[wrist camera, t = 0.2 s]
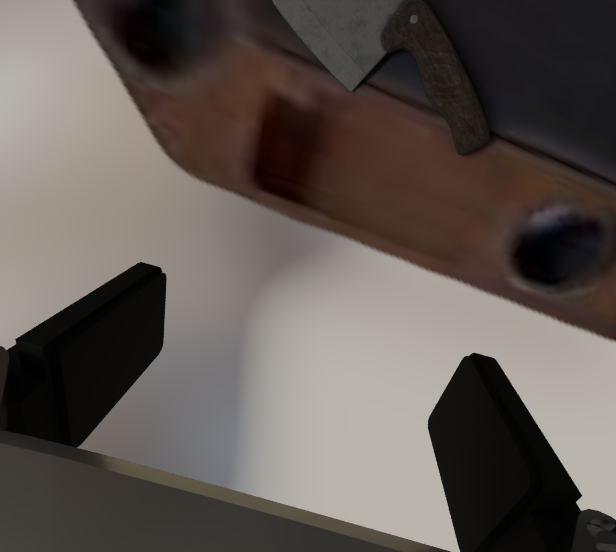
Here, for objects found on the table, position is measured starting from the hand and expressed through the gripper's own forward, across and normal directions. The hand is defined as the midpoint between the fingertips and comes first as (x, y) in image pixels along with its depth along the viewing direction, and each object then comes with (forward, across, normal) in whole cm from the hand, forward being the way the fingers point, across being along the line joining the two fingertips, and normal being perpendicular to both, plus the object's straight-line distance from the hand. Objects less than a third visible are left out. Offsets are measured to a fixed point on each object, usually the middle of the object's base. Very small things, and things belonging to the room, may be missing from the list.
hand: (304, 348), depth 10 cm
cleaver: (+32, 0, -15) cm, 35 cm away
